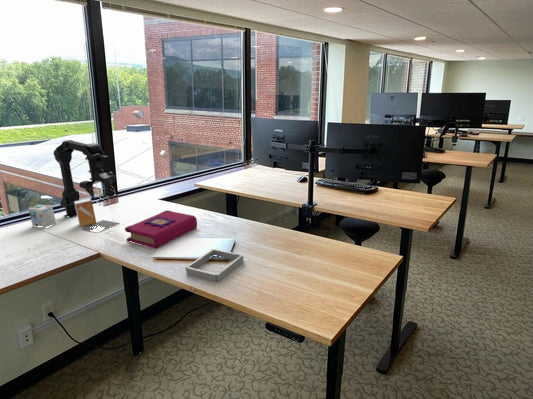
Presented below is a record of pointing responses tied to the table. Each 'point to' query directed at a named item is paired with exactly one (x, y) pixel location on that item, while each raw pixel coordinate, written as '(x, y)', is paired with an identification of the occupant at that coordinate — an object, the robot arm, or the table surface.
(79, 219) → the small box
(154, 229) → the book
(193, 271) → the frame
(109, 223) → the mat
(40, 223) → the light bulb box
